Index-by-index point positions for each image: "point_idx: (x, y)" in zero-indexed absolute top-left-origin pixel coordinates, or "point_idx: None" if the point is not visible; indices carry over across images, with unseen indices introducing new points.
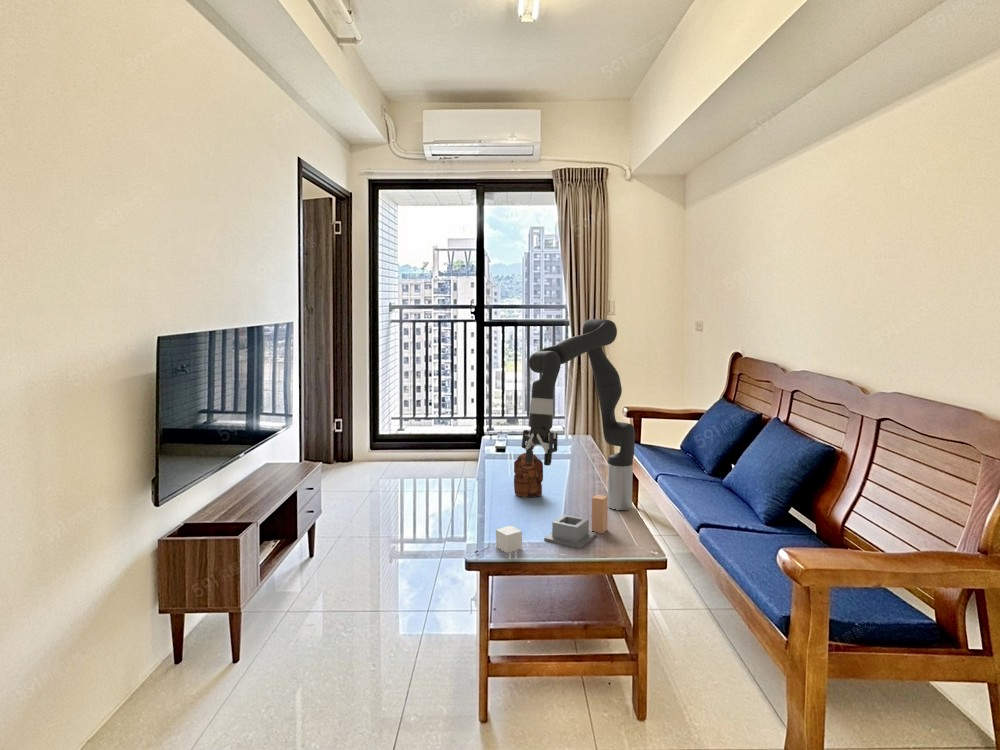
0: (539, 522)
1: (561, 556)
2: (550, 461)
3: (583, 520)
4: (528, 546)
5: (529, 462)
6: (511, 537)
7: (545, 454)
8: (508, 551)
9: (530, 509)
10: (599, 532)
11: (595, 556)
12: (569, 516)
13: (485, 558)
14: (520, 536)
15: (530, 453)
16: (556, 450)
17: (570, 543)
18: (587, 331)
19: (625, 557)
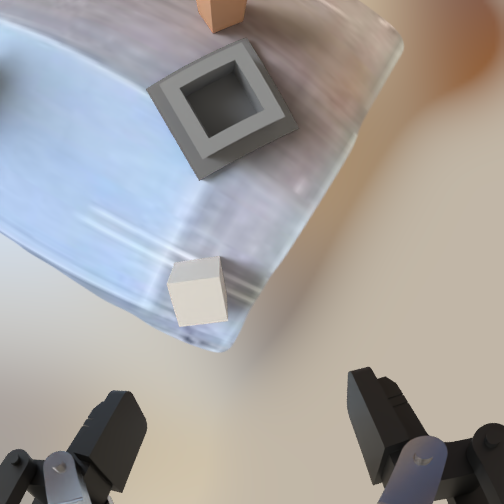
0: (83, 129)
1: (308, 197)
2: (396, 395)
3: (242, 62)
4: (214, 235)
5: (140, 410)
6: (225, 303)
7: (383, 473)
8: (226, 294)
9: (12, 118)
10: (234, 23)
11: (350, 128)
12: (184, 79)
13: (228, 338)
14: (220, 275)
15: (113, 461)
16: (500, 433)
17: (272, 140)
18: None
19: (383, 82)
